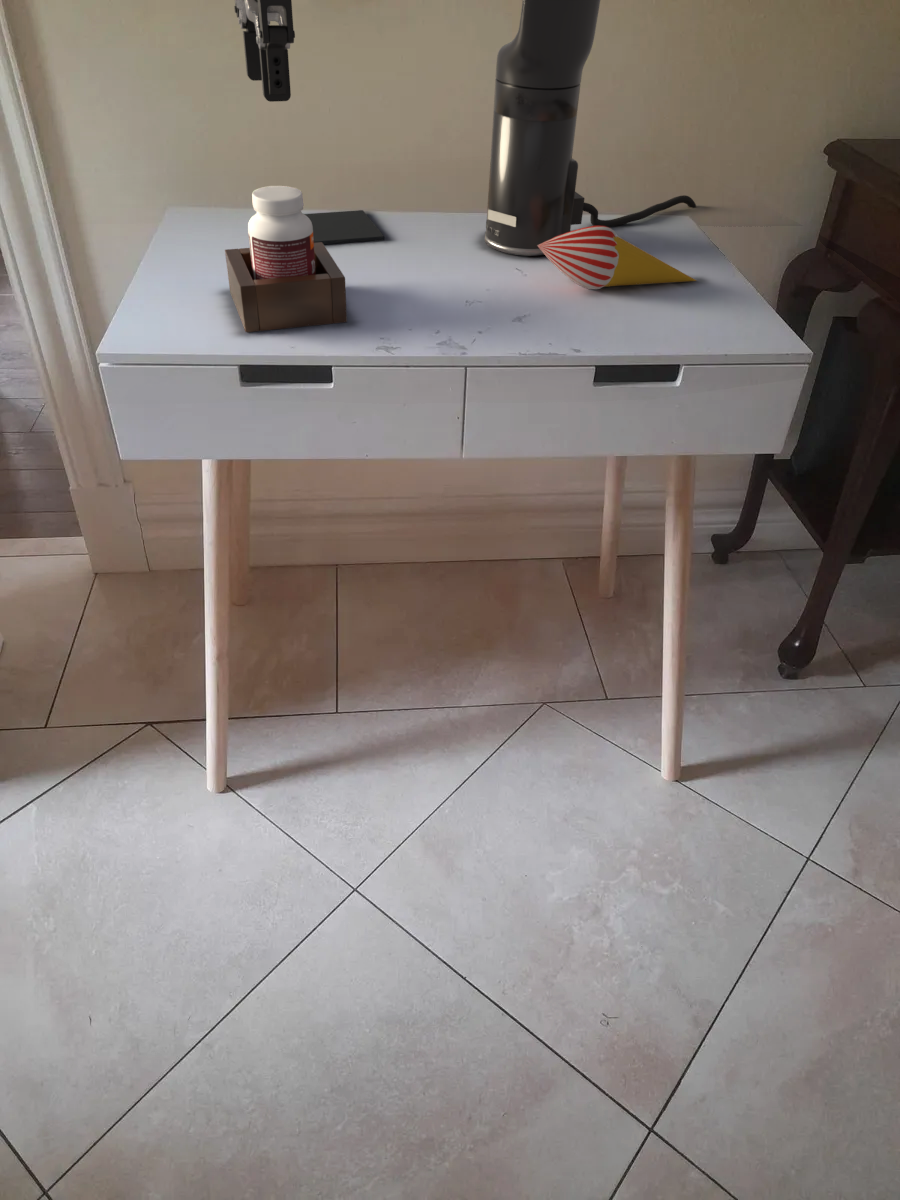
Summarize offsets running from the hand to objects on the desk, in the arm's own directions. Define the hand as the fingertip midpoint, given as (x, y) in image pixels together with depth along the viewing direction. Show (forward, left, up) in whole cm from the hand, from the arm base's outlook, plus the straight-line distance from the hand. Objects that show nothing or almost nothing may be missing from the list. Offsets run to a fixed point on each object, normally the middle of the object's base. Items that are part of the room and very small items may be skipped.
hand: (268, 89), depth 77 cm
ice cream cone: (-36, +3, -20) cm, 41 cm away
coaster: (-10, -22, -20) cm, 31 cm away
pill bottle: (0, 0, -20) cm, 20 cm away
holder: (0, 0, -20) cm, 20 cm away
